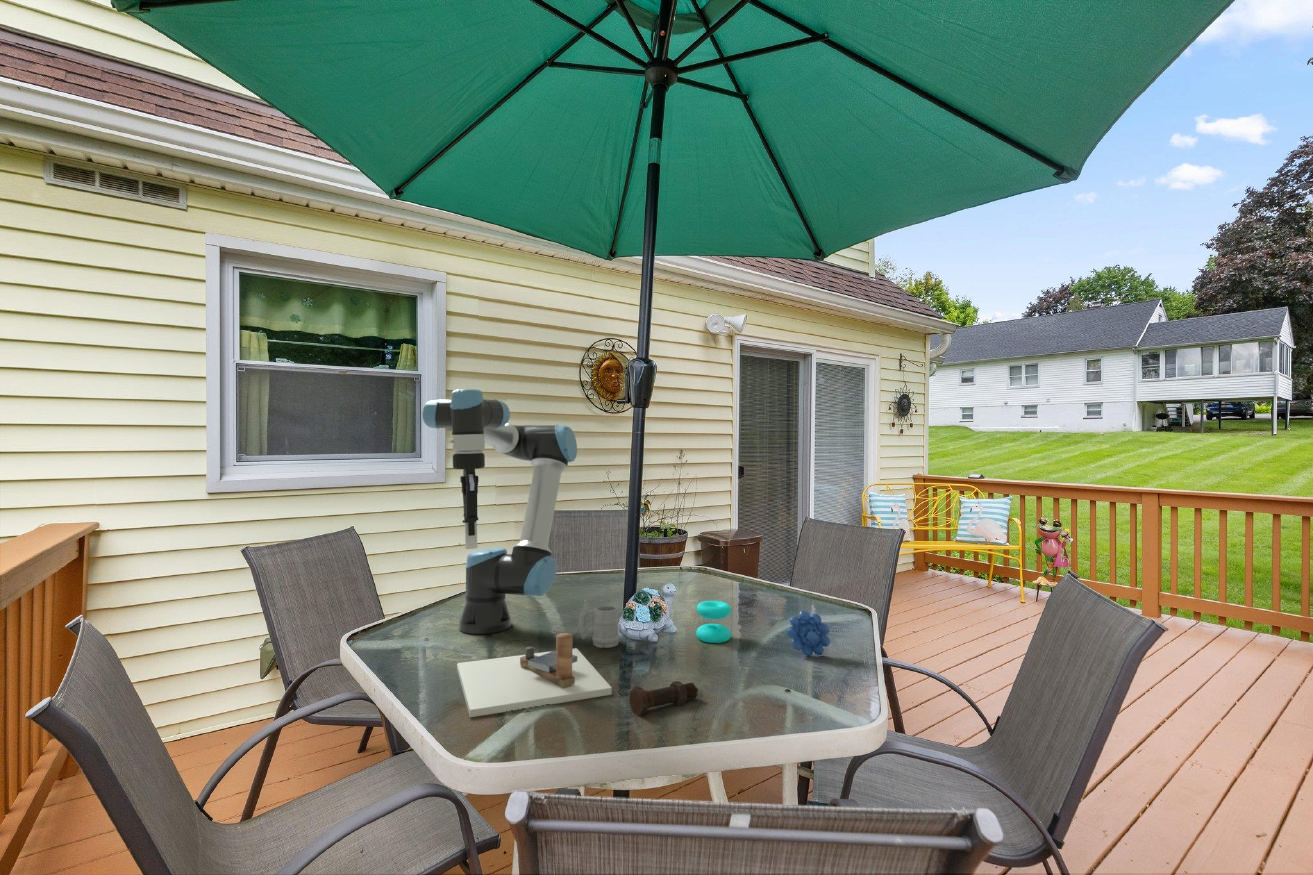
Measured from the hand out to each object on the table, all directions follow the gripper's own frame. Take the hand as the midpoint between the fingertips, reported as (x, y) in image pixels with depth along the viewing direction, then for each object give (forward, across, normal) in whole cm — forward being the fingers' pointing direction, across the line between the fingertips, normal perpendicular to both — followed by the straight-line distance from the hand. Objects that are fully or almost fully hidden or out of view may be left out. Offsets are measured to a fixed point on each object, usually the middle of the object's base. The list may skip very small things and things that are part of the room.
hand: (471, 548), depth 147 cm
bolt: (+31, +38, +35) cm, 60 cm away
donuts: (+33, +2, +66) cm, 73 cm away
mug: (+31, -6, +34) cm, 46 cm away
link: (+28, +15, +14) cm, 35 cm away
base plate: (+30, +14, +11) cm, 35 cm away
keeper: (+30, +15, +16) cm, 37 cm away
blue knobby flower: (+33, +25, +82) cm, 92 cm away
